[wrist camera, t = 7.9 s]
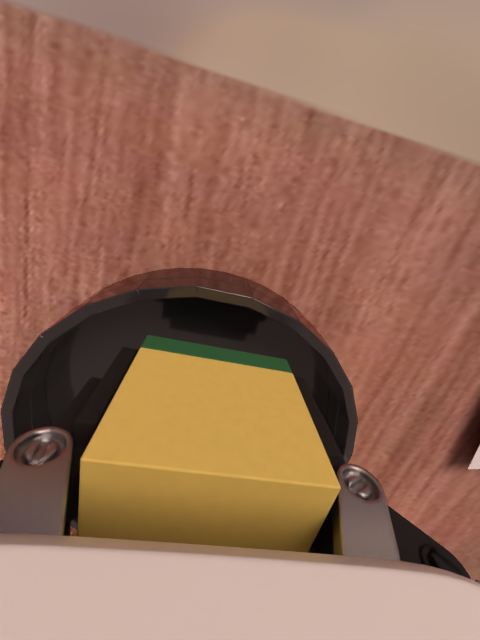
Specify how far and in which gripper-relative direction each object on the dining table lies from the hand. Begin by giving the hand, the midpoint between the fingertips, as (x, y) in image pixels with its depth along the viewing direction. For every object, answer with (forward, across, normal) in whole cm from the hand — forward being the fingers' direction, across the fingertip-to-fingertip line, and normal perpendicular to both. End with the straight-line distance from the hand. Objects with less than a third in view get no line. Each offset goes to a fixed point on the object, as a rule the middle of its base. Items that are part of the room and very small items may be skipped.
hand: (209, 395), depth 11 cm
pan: (+6, 0, +5) cm, 8 cm away
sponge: (0, 0, 0) cm, 0 cm away
